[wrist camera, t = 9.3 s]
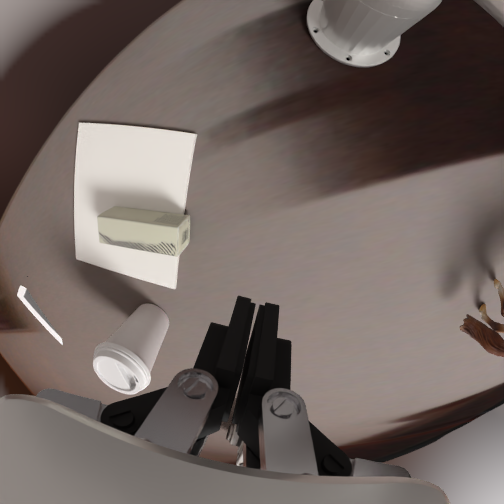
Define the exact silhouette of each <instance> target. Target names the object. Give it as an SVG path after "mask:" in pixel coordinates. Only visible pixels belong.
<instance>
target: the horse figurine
mask: <svg viewBox="0 0 504 504" xmlns="http://www.w3.org/2000/svg"><path fill="white" fill-rule="evenodd" d="M494 287H495V288H497V289H499V291H498V293H499V296H500V301H501V315H502V316H503V317H504V289H503V287H502V285H501V283H500V282H499V281H498V280H497V279H494ZM479 313H480V314H481V315H482V320H483V321H485V322H486V323H488V324H489V325H490V326H491V328H492V329H493V330H492V329H491V328H488V327H487V326H486V325H485V324H483V323H482V322H480V321H478V320H476V319H475V318H473V317H471V316H470V315H468V314H467V315H466V316H467V318H465V319H464V320H463V321H464V325H462V326H460V330H462V331H463V332H465V333H467V334H469V335H470V336H471V337H472V338H474V339H475V340H476V341H478V342H479V343H480V344H481V346H483V348H484V349H485V350H486V351H487V352H489V353H491V354H494V355H496V356H502V357H504V340H503V338H502V337H501V336H500V335H499V334H498V333H497V332H502V333H504V324H500V323H497V322H494V321H493V320H491V319H490V318H489V317H488V315H487V314H486V305H485V304H483V305H482V306H481V307H480V309H479Z"/></svg>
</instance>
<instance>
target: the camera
mask: <svg viewBox="0 0 504 504" xmlns="http://www.w3.org/2000/svg"><path fill="white" fill-rule="evenodd" d="M236 427H237V424H234V426H233V425H230V426H229V429H228V433H227V437H226V439H227V440H230V444H232V445H236V446H238V451H237V453H238V457H237V462H236V465H237V466H242V467H243V443H244V442H243V441H242V439H241V438H240V437H239V436H238V435H237V432H236Z"/></svg>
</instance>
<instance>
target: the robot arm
mask: <svg viewBox="0 0 504 504" xmlns="http://www.w3.org/2000/svg"><path fill="white" fill-rule="evenodd" d="M441 1H442V0H323V1H322V0H313V1H312V2H311V4H310V6H309V9H308V12H307V26H308V30H309V33H310V35H311V37H312V39H313V40H314V42H315V43H316V45H317V46H318V47H319V48H320V49H321V50H322V51H323V52H324V53H326V54H327V55H328V56H330V57H331V58H333V59H335V60H337V61H339V62H341V63H344V64H346V65H350V66H355V67H372V66H376V65H379V64H382V63H383V62H385V61H387V60H388V59H390V58H391V57H392V56H393V55H394V53H395V52H396V51H397V49H398V46H399V44H400V35H401V34H402V33H403V32H405V31H406V30H407V29H409V28H410V27H411V26H413V25H414V24H415V23H417V22H418V21H419V20H421V19H422V18H424V17H425V16H426V15H427V14H429V13H430V12H431V11H433V10H434V9H435V8H436V7H437V6H438V5H439V4H440V3H441ZM474 1H475V2H476V3H478V4H479V5H480V6H481V7H482V8H483V9H485V10H486V11H487V12H488V13H489V14H490V15H491V16H492V17H494V18H495V19H496V20H497V21H498V22H499V23H500V24H501V25H502V26H503V27H504V0H474ZM314 31H317V33H315V32H314ZM385 53H386V54H387V55H385ZM346 58H349V61H348V60H346ZM254 310H255V303H251V299H250V298H246V297H241V296H238V297H237V301H236V304H235V307H234V311H233V314H232V317H231V321H230V324H229V327H228V326H224V325H220V324H216V323H213V322H211V324H210V326H209V329H208V331H207V334H206V337H205V339H204V342H203V344H202V347H201V349H200V352H199V355H198V357H197V360H196V362H195V365H194V368H190V369H185V370H183V371H181V372H179V373H178V374H177V375H176V376H175V377H174V378H173V380H172V381H171V383H170V384H169V386H168V387H166V388H163V389H160V390H156V391H153V392H150V393H146V394H143V395H140V396H136V397H133V398H129V399H126V400H122V401H118V402H115V403H112V404H110V405H105V404H102V403H101V401H98V400H94V399H89V398H85V397H81V396H77V395H74V394H70V393H66V392H63V391H59V390H56V389H45V390H42V391H41V392H39V393H38V394H37V396H36V397H35V396H29V395H21V394H11V395H6V396H4V397H2V398H0V504H450V502H449V499H448V497H447V496H446V494H445V492H444V491H443V490H442V489H441V488H440V487H438V486H436V485H434V484H432V483H430V482H426V481H423V480H419V479H415V478H411V476H410V474H409V472H408V471H407V470H406V469H405V468H402V467H400V466H395V465H389V464H383V463H378V462H373V461H368V460H364V459H359V458H356V459H355V460H352V459H349V457H348V456H347V455H346V454H345V453H344V452H343V451H342V450H340V449H339V448H338V447H337V446H336V445H335V444H334V443H333V442H331V441H330V440H329V439H328V438H327V437H326V436H325V435H324V434H323V433H321V432H320V431H319V430H318V429H317V428H316V427H315V426H314V425H313V424H312V423H311V422H309V421H308V415H307V410H306V405H305V403H304V400H303V399H302V398H301V397H300V395H298V394H297V393H295V392H294V391H291V390H290V381H291V341H289V340H285V339H280V338H277V331H278V317H279V305H275V304H271V303H267V302H266V303H265V306H264V305H260V306H259V309H258V313H257V316H256V320H255V324H254V327H253V331H252V334H251V338H250V341H249V345H248V340H249V335H250V330H251V325H252V320H253V315H254ZM247 345H248V349H247ZM246 350H247V352H246ZM245 355H246V356H245ZM244 360H245V361H244ZM241 374H242V375H241ZM240 378H241V380H240ZM239 381H240V385H239V390H238V395H237V400H236V405H235V409H234V414H233V419H232V423H233V424H237V427H236V432H237V435H238V436H239V437H240V438H241V439H242V441H243V442H244V443H243V467H242V466H237V465H232V464H227V463H222V462H218V461H213V460H209V459H205V458H201V457H199V455H200V453H201V451H202V448H203V446H204V444H205V442H206V440H207V438H208V435H210V434H212V433H214V432H217V431H219V430H220V426H221V422H222V421H224V422H227V421H228V418H229V415H230V411H231V408H232V405H233V401H234V398H235V395H236V391H237V388H238V384H239Z"/></svg>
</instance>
